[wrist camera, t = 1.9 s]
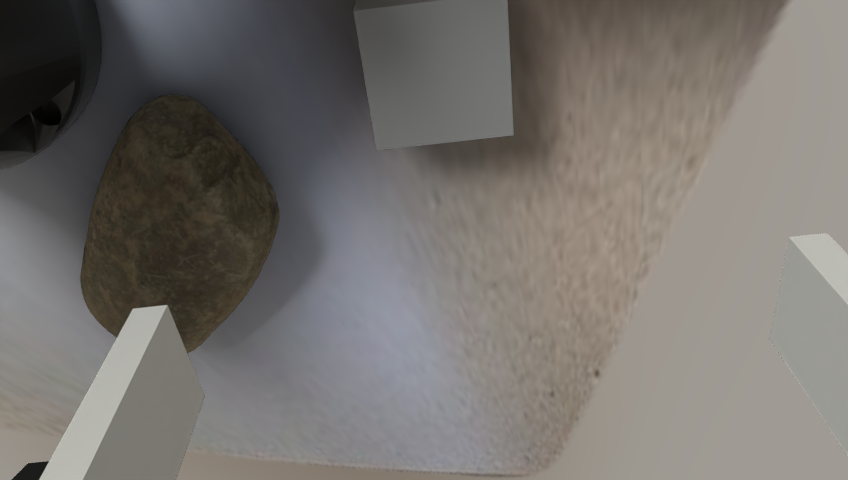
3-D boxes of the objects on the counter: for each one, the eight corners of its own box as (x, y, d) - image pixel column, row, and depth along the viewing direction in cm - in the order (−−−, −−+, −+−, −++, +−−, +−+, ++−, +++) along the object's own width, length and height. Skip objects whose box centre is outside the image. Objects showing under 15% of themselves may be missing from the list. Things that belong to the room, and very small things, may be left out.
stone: (324, 130, 34) (270, 311, 30) (246, 234, 46) (198, 378, 41) (151, 50, 31) (59, 237, 26) (113, 183, 43) (44, 331, 38)
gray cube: (381, 100, 35) (376, 150, 30) (362, -23, 32) (353, 10, 27) (498, 86, 35) (513, 135, 30) (491, -38, 32) (507, -8, 26)
